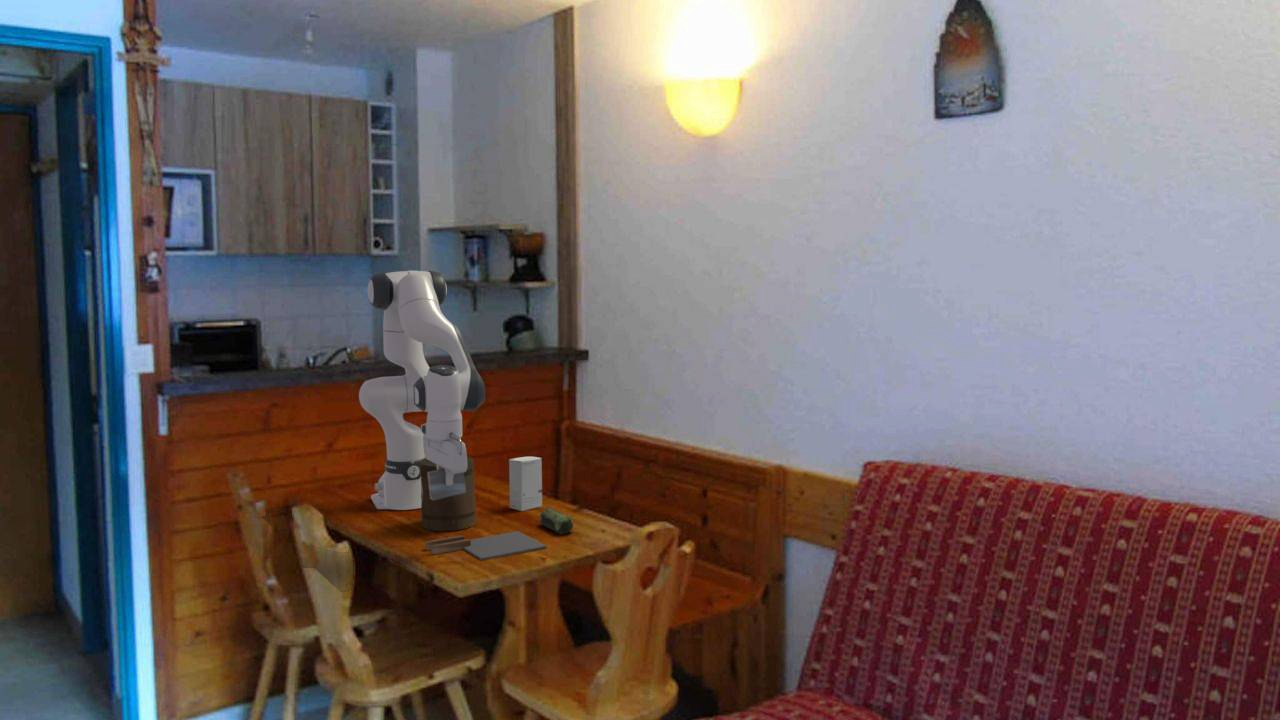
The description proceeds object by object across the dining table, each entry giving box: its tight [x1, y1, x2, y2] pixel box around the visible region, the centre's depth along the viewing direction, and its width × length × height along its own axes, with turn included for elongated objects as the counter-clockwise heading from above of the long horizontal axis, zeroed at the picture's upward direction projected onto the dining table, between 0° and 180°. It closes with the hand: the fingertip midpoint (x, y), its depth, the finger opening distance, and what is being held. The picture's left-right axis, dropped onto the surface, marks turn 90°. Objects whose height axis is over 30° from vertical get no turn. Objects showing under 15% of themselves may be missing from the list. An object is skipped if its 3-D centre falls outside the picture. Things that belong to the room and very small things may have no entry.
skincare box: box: [508, 455, 543, 512], centre depth 296 cm, size 8×6×15 cm
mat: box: [462, 530, 547, 561], centre depth 258 cm, size 16×18×1 cm
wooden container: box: [420, 456, 477, 532], centre depth 278 cm, size 15×15×22 cm
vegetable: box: [539, 507, 574, 535], centre depth 273 cm, size 14×5×5 cm, turn 33°
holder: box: [424, 534, 471, 555], centre depth 256 cm, size 6×10×2 cm, turn 123°
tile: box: [427, 468, 466, 500], centre depth 255 cm, size 2×9×7 cm, turn 123°
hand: (446, 483), depth 255 cm, fingers closed on tile, 2 cm apart
